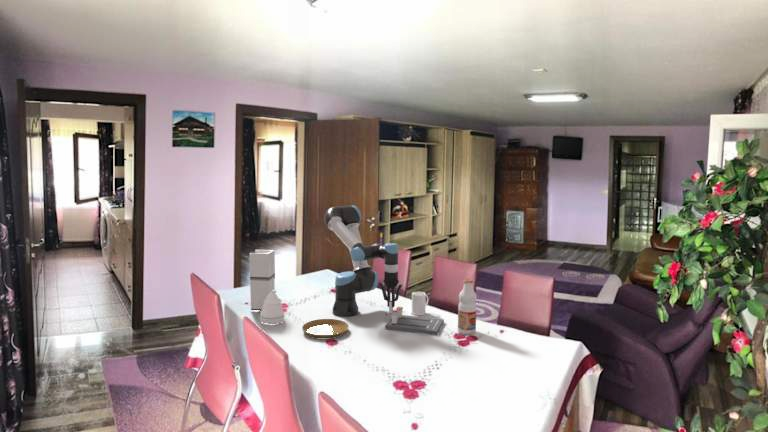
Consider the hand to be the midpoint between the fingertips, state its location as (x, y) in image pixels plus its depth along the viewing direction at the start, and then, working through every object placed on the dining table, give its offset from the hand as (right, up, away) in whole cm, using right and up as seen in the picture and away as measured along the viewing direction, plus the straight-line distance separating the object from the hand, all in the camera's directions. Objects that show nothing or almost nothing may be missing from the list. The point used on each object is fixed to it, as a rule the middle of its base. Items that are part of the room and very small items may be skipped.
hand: (390, 312), depth 293 cm
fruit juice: (+40, -7, -16) cm, 43 cm away
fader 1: (+2, -3, -10) cm, 11 cm away
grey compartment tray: (+13, -6, -8) cm, 16 cm away
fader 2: (+5, -2, -1) cm, 5 cm away
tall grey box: (-75, -2, +18) cm, 77 cm away
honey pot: (-66, -5, -2) cm, 66 cm away
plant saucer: (-35, -7, -18) cm, 40 cm away
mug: (+18, -3, +14) cm, 23 cm away
